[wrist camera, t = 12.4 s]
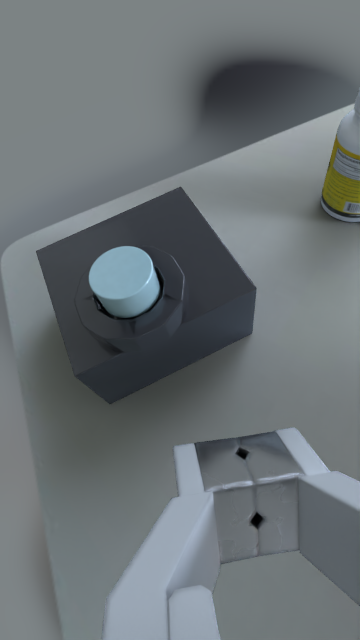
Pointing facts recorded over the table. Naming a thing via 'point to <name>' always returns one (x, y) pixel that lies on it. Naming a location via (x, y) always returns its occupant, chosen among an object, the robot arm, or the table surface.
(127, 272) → the light blue push button
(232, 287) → the grey push button box
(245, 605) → the table surface
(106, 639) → the robot arm
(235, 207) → the table surface
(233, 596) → the table surface
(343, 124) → the supplement bottle
